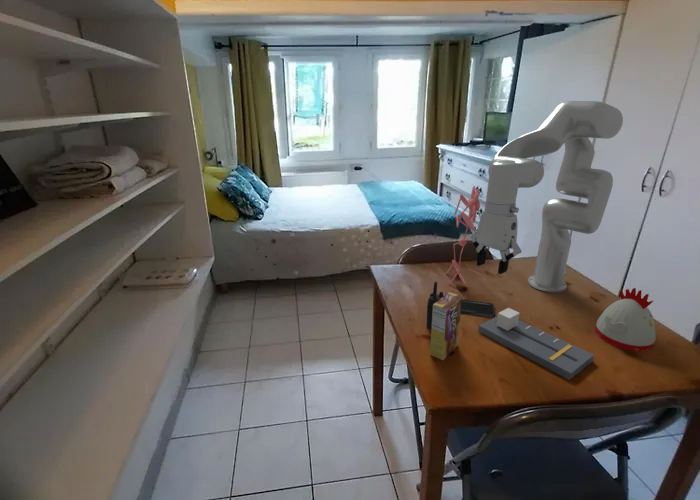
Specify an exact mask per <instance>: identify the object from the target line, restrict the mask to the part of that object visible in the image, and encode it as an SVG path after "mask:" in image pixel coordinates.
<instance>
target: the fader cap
mask: <svg viewBox="0 0 700 500" xmlns="http://www.w3.org/2000/svg"><path fill="white" fill-rule="evenodd" d="M520 315H521V314H520V312H519V311H517V310H514V309H512V308H510V307H507V308H505V309H504V310H500V311H499V312H498V313H497V316H498V318H497V324H496V325H497V326H499V327H501V328H503V329H505V330H507V331H508V330H510V329H512V328H513V327H515V326H517V325H518V321H519V320H520Z"/></svg>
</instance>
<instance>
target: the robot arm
mask: <svg viewBox="0 0 700 500" xmlns="http://www.w3.org/2000/svg"><path fill="white" fill-rule="evenodd" d="M623 121H624V117H623V114H622V112H621V110H620V109H619V108H616V107H614V106H612V105H610V104H608V103H606V102H603V101H598V100H597V101H596V100H595V101H594V100H569V101H563V102H561V103H559V104H558V105H557V106H555V108H554V109H552V110H551V112H550V113H549V114H548V115H547V116H546V118H545V119H544V120H543V121H542V122H541V123H540V124H539V126H538V127H537V128H536V129H535V130H533V131H530V132H528V133H525V134H523V135H521V136H518V137H517V138H514V139H513V140H511V141H509V142H507V143H506V144H505V145H504V146H502V148H500V149H499V151H498V152H497V153H496V154H495V156H493V158H492V160H491V161H490V164H489V165H488V180H487V181H488V182H487V191H486V198H485V205H484V209H483V211H482V213H481V215H480V218H479V222H478V227H477V230H476V232H474V233H473V234H471V235H470V239H471V241H472V244H473V246H474V248H475V251H476V253H477V254H476V255H477V256H476V266H478V267H479V266H484V264H486V258H487V250H486V249H487V248H491V249H493V250H496V251H499V253H500V258H501V260H499V263H498V270H497V274H499V275H502V274H504V273H506V272H507V271H508V268H509V263H510V260H511V259H513V258H516V256H518V255H520V254H521V253H522V249H521V248H520V245H519V244H518V243H517V239H518V216H517V213H519V211H520V208H519V207H517V203H516V202H517V198H518V197H517V195H518V191H519V188H520V189H521V188H524V189H529V188H533V187H535V186H537V185H539V184H540V183H541V181H542V180H543V178H544V176H545V168H544V165H543V163H541V162H540V161H539V160H535V159H531V158H535V157H541V156H545V155H549V154H554V153H555V152H557V151H559V150H560V149H561V147H563V145H564V154H563V157H562V161H561V165H560V167H559V172H558V175H557V179H556V182H555V189H556V191H557V192H558V193H560V194H561V195H564V196H570V197H576V198H580V199H581V198H582V199H586V200H587V202H582V201H578V200H573V199H567V198H561V197H560V198H557V197H556V198H550V199H548V200H547V201H546V202H545V203H544V204H543V207H542V210H541V221H542V222H541V226H542V227H541V233H540V240H539V244H538V250H537V255H536V260H535V265H534V270H533V275H530V276H529V277H528V279H527V283H528V285H530V286H531V287H532V288H533V289H536V290H539V291H543V292H545V293H546V292H547V293H562V292H564V291H566V289H567V287H568V285H567V283H566V281H564V277H565V276H567V274H568V272H567V270H566V268H567V263H568V258H569V255H570V251H571V245H572V238H571V235H570V231H573V232H576V233H581V234H585V235H586V234H587V235H591V234H594V233H595V232H596V231H597V230H598V229H599V228H600V225H601V223H602V220H603V217H604V214H605V212H606V209H607V206H608V205H607V204H608V203H609V200H610V199H609V198H610V196H611V193H612V189H613V184H614V179H613V175H612V174H611V172H610V171H607V170H604V169H599V168H592V164H593V160H594V159H595V158H594V157H595V155H596V153H595V147H594V146H593V144H592V141H591V140H590V138H591V139H592V138H593V139H604V140H606V139H607V140H610V139H612V138H614V137H615V136H617V135H618V134H619V132H620V131H621V130H622V129H621V128H622V127H623V124H624V122H623ZM515 213H516V214H515ZM510 249H511V250H512V251H511V250H510Z"/></svg>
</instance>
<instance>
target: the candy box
mask: <svg viewBox="0 0 700 500" xmlns="http://www.w3.org/2000/svg"><path fill="white" fill-rule="evenodd" d="M462 300H463V296H462V295H460V294H457V293H453V292H451V291H449V292H447V293H446V294H444V295H443V297H442V298H441V299H440V300H438V301H437V302H436V303H435V304H433V312H432V328H431V329H430V330H431V331H430V347H429V348H430V349H429V355H430V356H432V357H434V358H437V359H439V360H441V361H444V360H445V359H446V358H447V357H448V356H449V355H450V354H451V353H452V352H453V351H454V350H455V349H456V347H458V346H459V341H460V340H459V338H460V337H459V335H460V328H461V327H460V325H461V314H462V313H461V303H462Z"/></svg>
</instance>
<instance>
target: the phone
mask: <svg viewBox="0 0 700 500" xmlns="http://www.w3.org/2000/svg"><path fill="white" fill-rule="evenodd" d="M495 312H496V311H495V304H493V303H490V302H483V301H478V300H477V301H475V300H468V299H462V303H461V314H466V315H472V316H479V317H480V316H481V317H486V318H494V317H496V314H495Z"/></svg>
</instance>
